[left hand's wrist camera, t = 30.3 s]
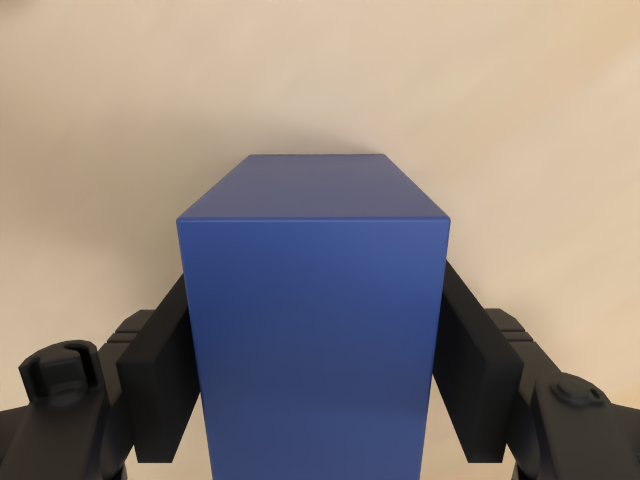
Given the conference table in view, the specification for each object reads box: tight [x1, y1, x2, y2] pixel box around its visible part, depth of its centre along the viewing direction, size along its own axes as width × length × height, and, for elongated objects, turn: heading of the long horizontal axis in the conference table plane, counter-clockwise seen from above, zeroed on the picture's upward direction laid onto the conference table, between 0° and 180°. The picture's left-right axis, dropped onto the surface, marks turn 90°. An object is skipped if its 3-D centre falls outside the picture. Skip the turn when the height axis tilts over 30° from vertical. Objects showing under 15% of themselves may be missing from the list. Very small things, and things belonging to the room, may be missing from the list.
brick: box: [176, 154, 451, 480], centre depth 13 cm, size 5×8×8 cm, turn 0°
